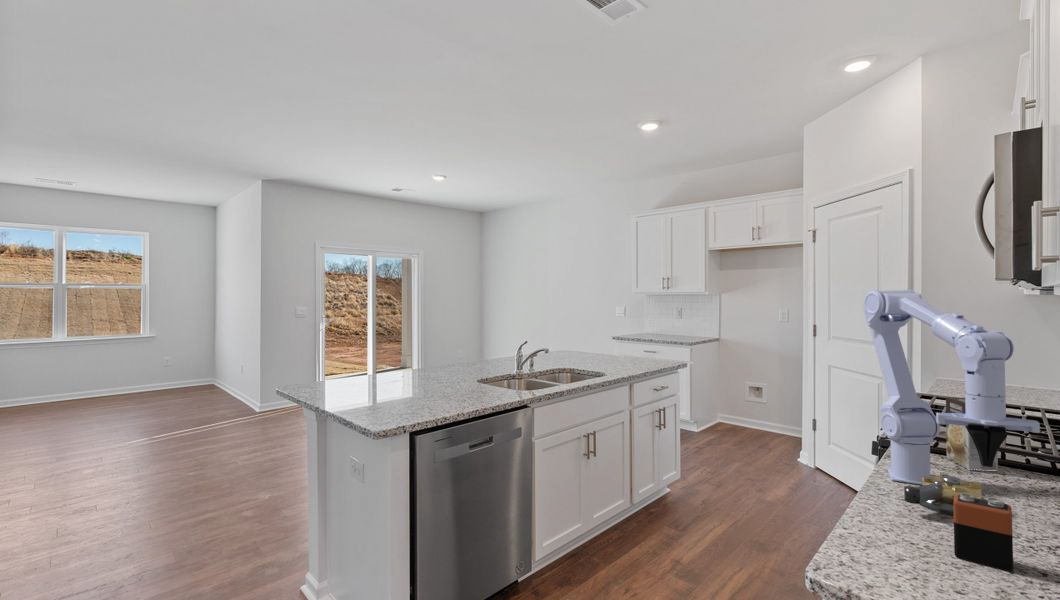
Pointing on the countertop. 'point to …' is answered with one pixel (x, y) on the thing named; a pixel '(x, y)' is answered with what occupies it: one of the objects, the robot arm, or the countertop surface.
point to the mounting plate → (939, 506)
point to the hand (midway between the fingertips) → (986, 465)
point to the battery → (983, 531)
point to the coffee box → (963, 440)
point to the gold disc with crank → (941, 489)
